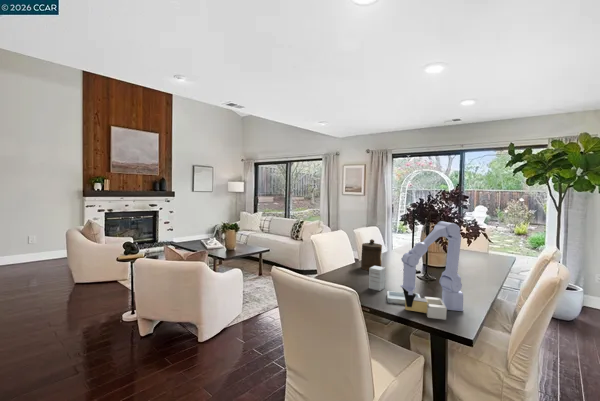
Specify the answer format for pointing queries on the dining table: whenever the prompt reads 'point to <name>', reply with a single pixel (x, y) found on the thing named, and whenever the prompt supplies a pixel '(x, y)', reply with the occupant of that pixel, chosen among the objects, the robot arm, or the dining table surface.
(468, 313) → the dining table surface
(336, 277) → the dining table surface
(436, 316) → the bay
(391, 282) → the dining table surface
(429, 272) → the dining table surface
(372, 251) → the wooden container
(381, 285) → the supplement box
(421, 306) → the yellow rectangular block
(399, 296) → the tray
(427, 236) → the robot arm
